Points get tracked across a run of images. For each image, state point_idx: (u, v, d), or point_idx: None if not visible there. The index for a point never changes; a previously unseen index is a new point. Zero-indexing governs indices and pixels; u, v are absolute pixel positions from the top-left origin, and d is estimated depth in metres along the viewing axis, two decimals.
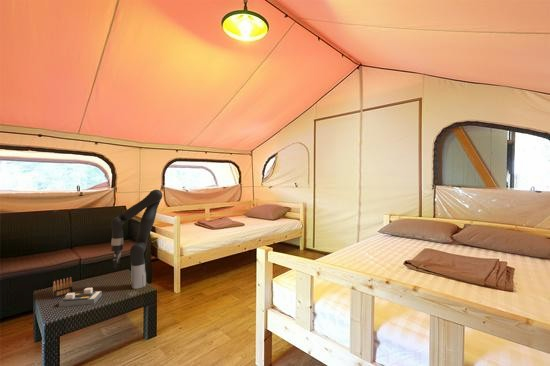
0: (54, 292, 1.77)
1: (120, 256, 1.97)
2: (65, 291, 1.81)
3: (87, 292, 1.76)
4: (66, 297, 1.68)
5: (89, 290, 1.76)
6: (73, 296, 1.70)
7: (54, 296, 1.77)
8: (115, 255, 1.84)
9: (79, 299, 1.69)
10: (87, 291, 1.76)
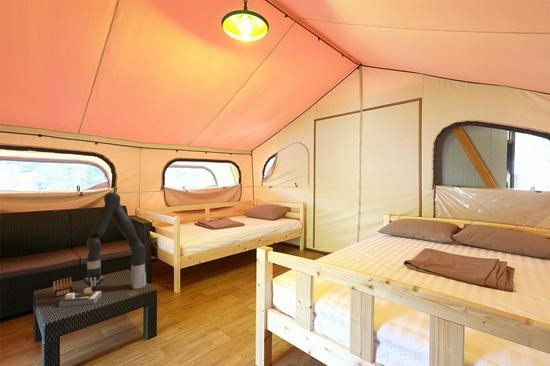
0: (54, 292, 1.77)
1: None
2: (65, 291, 1.81)
3: (87, 292, 1.76)
4: (66, 297, 1.68)
5: (89, 290, 1.76)
6: (73, 296, 1.70)
7: (54, 296, 1.77)
8: None
9: (79, 299, 1.69)
10: (87, 291, 1.76)
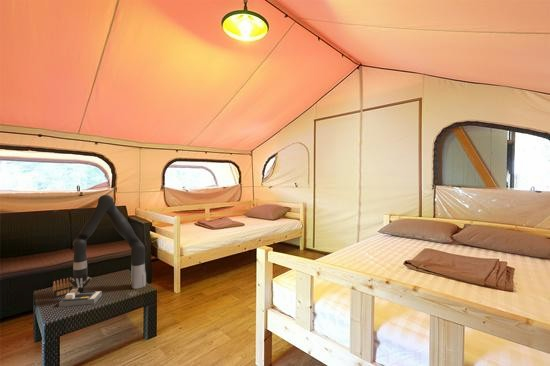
0: (54, 292, 1.77)
1: None
2: (65, 291, 1.81)
3: None
4: (66, 297, 1.68)
5: (75, 291, 1.74)
6: (73, 296, 1.70)
7: (54, 296, 1.77)
8: (90, 279, 1.77)
9: (79, 299, 1.69)
10: (73, 292, 1.74)
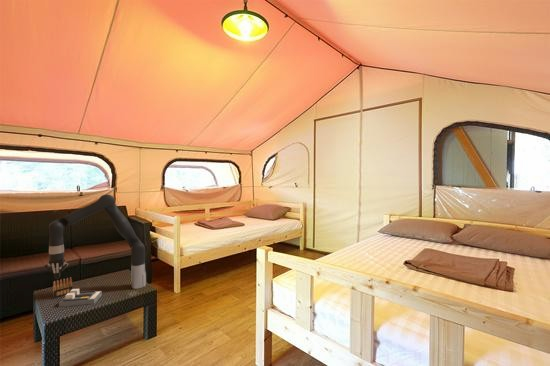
0: (54, 292, 1.77)
1: None
2: (65, 291, 1.81)
3: None
4: (66, 297, 1.68)
5: (75, 291, 1.74)
6: (73, 296, 1.70)
7: (54, 296, 1.77)
8: (67, 264, 1.69)
9: (79, 299, 1.69)
10: (73, 292, 1.74)
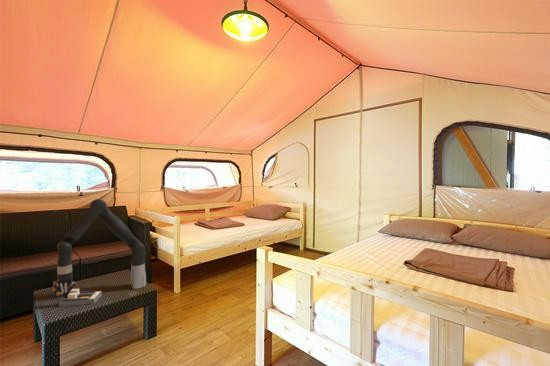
0: (54, 292, 1.77)
1: None
2: None
3: None
4: (68, 297, 1.68)
5: (75, 291, 1.74)
6: (75, 296, 1.70)
7: (54, 296, 1.77)
8: (75, 284, 1.70)
9: (79, 299, 1.69)
10: (73, 292, 1.74)
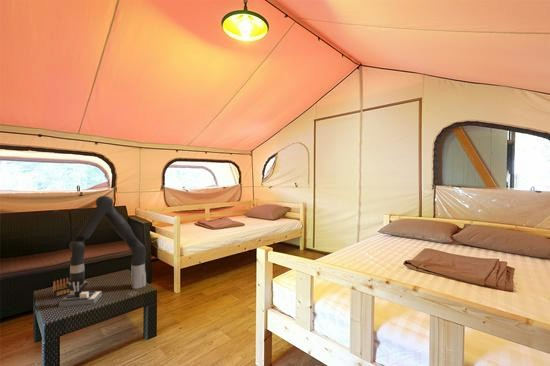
0: (54, 292, 1.77)
1: None
2: (65, 291, 1.81)
3: (73, 293, 1.74)
4: (80, 296, 1.70)
5: None
6: (87, 295, 1.72)
7: (54, 296, 1.77)
8: (87, 283, 1.72)
9: (79, 299, 1.69)
10: (73, 292, 1.74)
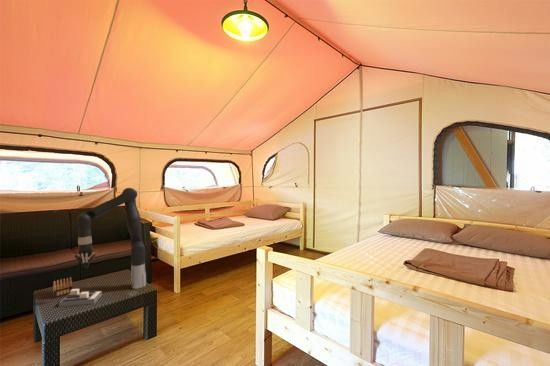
0: (54, 292, 1.77)
1: None
2: (65, 291, 1.81)
3: (73, 293, 1.74)
4: (80, 296, 1.70)
5: (75, 291, 1.74)
6: (87, 295, 1.72)
7: (54, 296, 1.77)
8: (95, 254, 1.78)
9: (79, 299, 1.69)
10: (73, 292, 1.74)
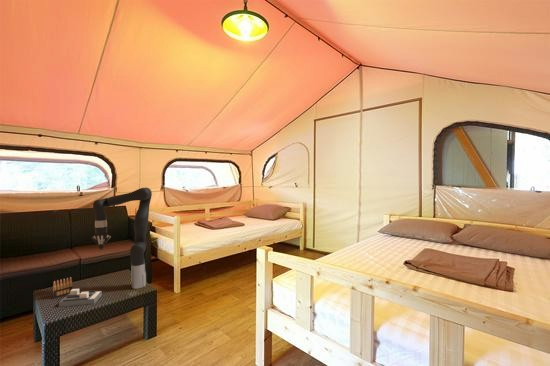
0: (54, 292, 1.77)
1: None
2: (65, 291, 1.81)
3: (73, 293, 1.74)
4: (80, 296, 1.70)
5: (75, 291, 1.74)
6: (87, 295, 1.72)
7: (54, 296, 1.77)
8: (110, 237, 1.94)
9: (79, 299, 1.69)
10: (73, 292, 1.74)
